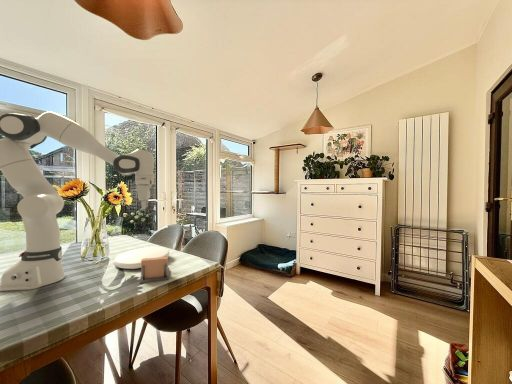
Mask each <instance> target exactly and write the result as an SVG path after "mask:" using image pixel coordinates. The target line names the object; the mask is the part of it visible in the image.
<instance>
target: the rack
mask: <svg viewBox="0 0 512 384" xmlns="http://www.w3.org/2000/svg"><path fill="white" fill-rule="evenodd" d="M166 257H167V256H166ZM145 259H146V258H145ZM169 279H170V267H168V276H166V264H164V276H160V277H151V278H145V266H142V279H141V277H140V279H139V284H146V283H147V284H148V283H157V282H162V281H169Z"/></svg>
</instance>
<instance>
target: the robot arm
mask: <svg viewBox="0 0 512 384" xmlns="http://www.w3.org/2000/svg"><path fill="white" fill-rule="evenodd" d="M0 134H1V135H2V136H4V137H3V138H0V171H1V173H2V174H3V177H5V179H6V181H7V182H8V184H9V185H10V187H11V188H13V189H14V190H15V191H16V192H18V194H20V195H21V196H22V197H23V198H22V199H21V200H20V201H19V202H18V203H17V206H16V207H17V208H16V209H17V212H18V214H19V215H20V216H21V220H22V223H23V226H24V230H25V240H26V241H25V242H26V243H25V245H26V246H25V247H26V250H24V251H22V252H21V253H20V254H18V258H20V260H19V261H18V262H16V263H14V264H13V265H12V266H10V267H9V268H8V269H6V270H5V271H4V272H3V273H2V275H1V279H0V292H1V291H3V292H4V291H5V292H7V291H23V290H35V289H39V288H41V287H43V286H47V285H50V284H54V283H57V282H59V281H61V280H63V279H65V278H66V274H65V271H64V267H63V264H62V263H63V262H62V258H63V249H62V245H61V228H60V227H59V224H58V219H57V214H59V213H60V212H61V211H62V210H63V209H64V206H65V201H64V199H63V197H62V196H61V195H59V193H58V191H57V190H56V189H55V188H54V186H53V185H52V184H51V183H50V182H49V180H47V178H46V177H45V175H44V174H43V172H42V171H41V169H40V167H39V166H38V164H37V163H36V160H35V159H34V157H33V156H32V154H31V153H30V150H31V149H32V150H33V148H35V147H37V146H38V145H41V144H42V143H44V142H45V141H46V139H48V138H51V139H53V140H55V141H57V142H59V143H61V144H63V145H64V146H66V147H69V148H71V149H74V150H76V151H80V152H82V153H86V154H90V155H93V156H95V157H97V158H99V159H101V161H102V160H103V161H104V162H106V163H108V164H110V165H112V166H113V168H114V170H115V171H116V172H117V173H119V174H120V175H122V176H125V177H130V176H132V175H134V179H135V180H134V183H135V185H136V190H137V199H138V200H139V201H140V204H141V209H142V210H146V208H148V207H149V200H150V198H151V188H152V185H155V173H154V170H155V157H154V154H153V152H151V151H150V150H147V149H144V148H137V149H135V150H134V151H132V152H129V153H125V154H124V153H123V154H118V153H116V152H115V151H113V150H112V149H109V148H108V147H106V146H105V145H103V144H102V143H101V142H100V141H99V140H98V139H97V138H96V137H94V135H93V134H92V133H91V132H90V131H88V130H87V129H86V128H85V127H84V126H81V125H80V124H79V123H77V122H75V121H74V120H72V119H69V118H68V117H66V116H63V115H61V114H58V113H56V112H53V111H46V112H43V113H42V114H40V115H39V116H38V117H35V116H33V115H31V114H22V113H15V112H14V113H11V112H10V113H9V112H8V113H4V114H2V115H0Z"/></svg>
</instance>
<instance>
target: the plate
mask: <svg viewBox="0 0 512 384" xmlns="http://www.w3.org/2000/svg"><path fill="white" fill-rule="evenodd" d="M166 256H167V257H168V258H169V256H170V250H169V249H167V248H165V247H161V246H149V247H140V248H136V249H132V250H127V251H124V252H123V253H121V254H118V255H116V256H115V258H114V260H113V263H114V266H115V267H117V268H120V269H128V270H131V269H132V270H135V269H141V260H142V259H145V258H157V257H166Z"/></svg>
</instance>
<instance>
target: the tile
mask: <svg viewBox="0 0 512 384" xmlns="http://www.w3.org/2000/svg"><path fill="white" fill-rule="evenodd" d="M168 262H169V256H168V257H157V258H146V259H142V260H141V268H140V271H141V272H140V278H141V279H142V266H145V278H151V277H160V276H164V264H166V276H168V268H169V266H168V265H169V263H168Z"/></svg>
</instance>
